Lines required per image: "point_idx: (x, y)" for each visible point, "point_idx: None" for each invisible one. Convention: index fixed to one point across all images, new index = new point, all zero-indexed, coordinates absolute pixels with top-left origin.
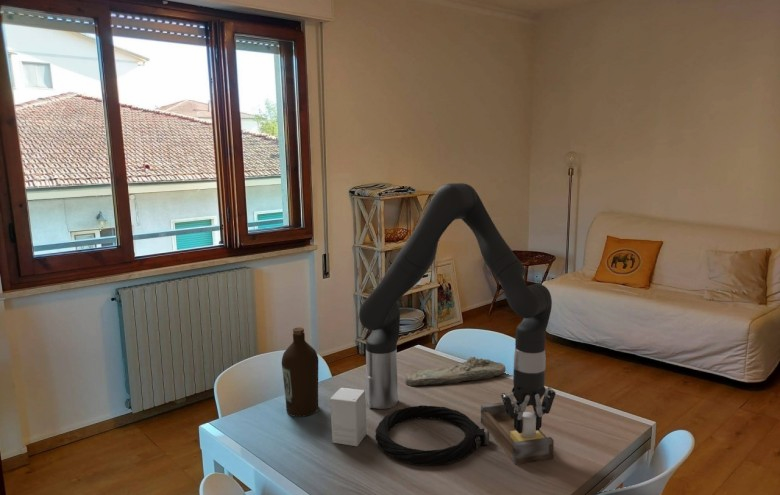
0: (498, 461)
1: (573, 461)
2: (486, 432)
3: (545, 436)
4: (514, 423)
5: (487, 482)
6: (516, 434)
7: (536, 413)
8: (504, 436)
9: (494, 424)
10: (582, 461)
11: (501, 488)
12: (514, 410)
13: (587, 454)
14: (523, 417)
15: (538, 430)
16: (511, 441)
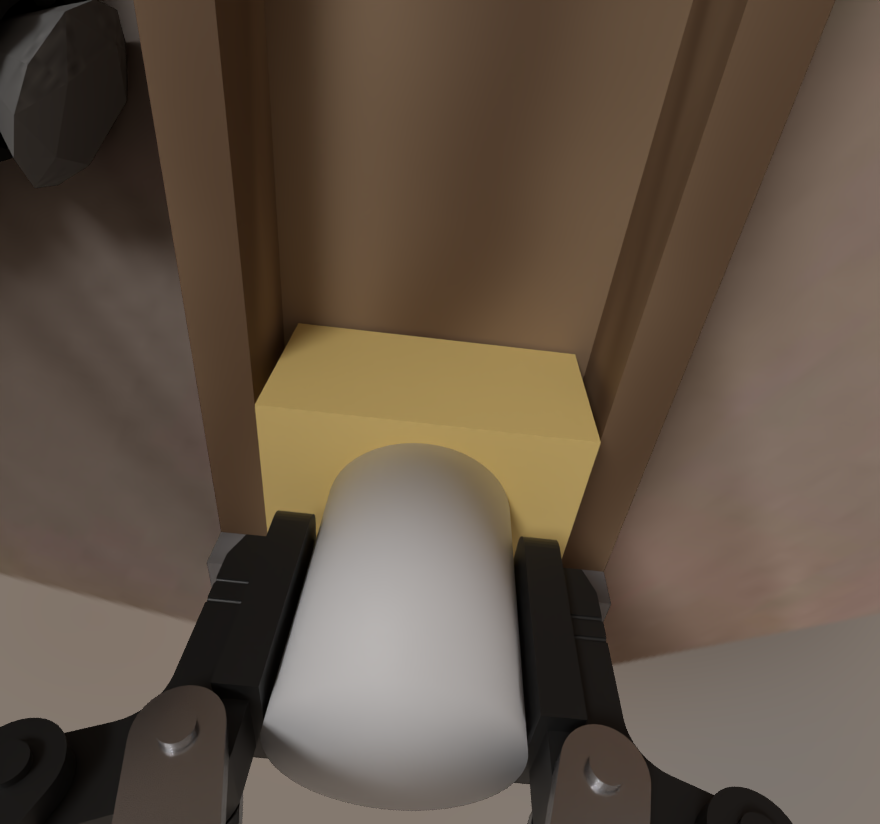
0: (152, 402)
1: (669, 564)
2: (5, 115)
3: (617, 515)
4: (207, 615)
5: (26, 545)
6: (296, 482)
7: (537, 805)
8: (195, 365)
9: (137, 3)
10: (720, 580)
11: (102, 599)
12: (120, 815)
13: (831, 543)
14: (298, 759)
15: (648, 406)
16: (234, 472)
